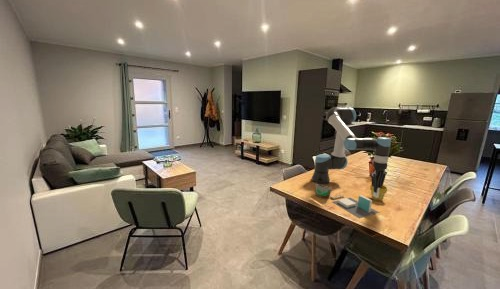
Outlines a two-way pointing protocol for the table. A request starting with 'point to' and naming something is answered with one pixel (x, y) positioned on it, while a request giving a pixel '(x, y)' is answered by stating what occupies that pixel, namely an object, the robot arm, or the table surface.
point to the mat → (356, 209)
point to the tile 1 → (346, 203)
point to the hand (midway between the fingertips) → (375, 196)
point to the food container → (323, 191)
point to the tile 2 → (364, 203)
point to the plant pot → (381, 192)
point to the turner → (337, 197)
